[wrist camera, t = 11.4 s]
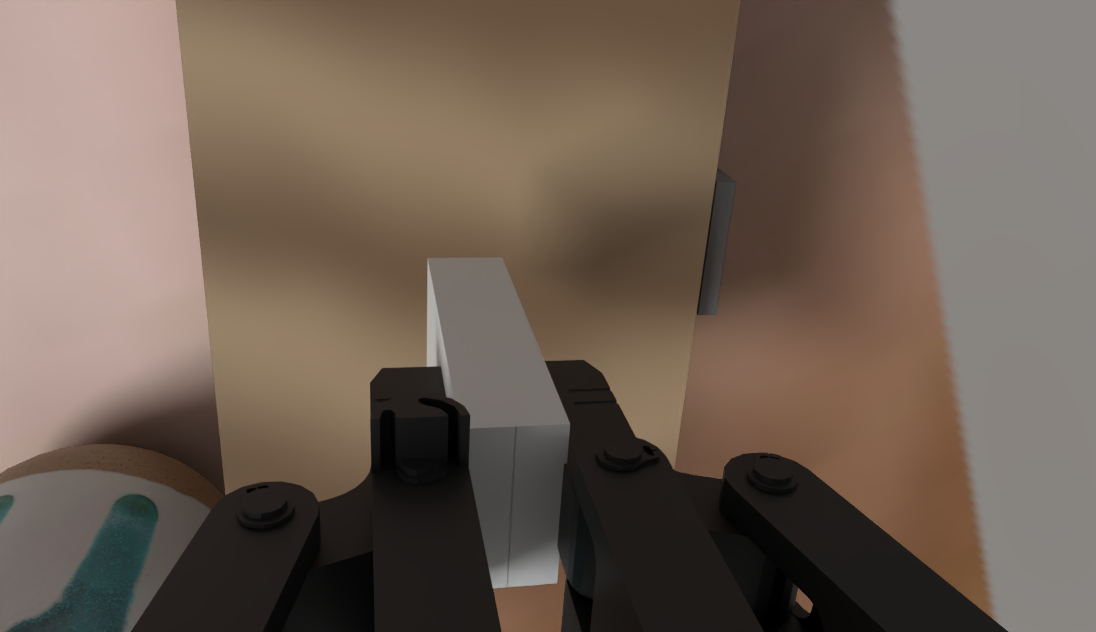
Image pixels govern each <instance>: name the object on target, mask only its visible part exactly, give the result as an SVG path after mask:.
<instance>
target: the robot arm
mask: <svg viewBox="0 0 1096 632" xmlns="http://www.w3.org/2000/svg"><path fill="white" fill-rule="evenodd" d="M370 433H371V468H370V472H369V474H368V475H367V477H366V478H365V480H364V481H363V482H361V483H360V484H359V485H358V486H357V487H356V488H354V489H352V490H350V491H348V492H346V493H345V494H342V495H339V496H336V497H333V498H331V499H327V500H323V501H319V502H318V500H317V498H316V497H315V495H314V493H313V492H311V491H309V490H308V489H306V488H304V487H303V486H301V485H297V484H293V483H288V482H283V481H277V482H260V483H256V484H251V485H248V486H244V487H241V488H239V489H237V490H235V491H233V492H231V493H229V494H227V495H225V496H224V497H223V498H222V499H221V500H220V501H219V502H218V503H217V504H216V505H215V506H214V507H213V508H212V509H211V511H210V513H209V514H208V516H207V517H206V519H205V520H204V522H203V523H202V525H201V526H200V528H199V529H198V531H197V532H196V534H195V535H194V537H193V538H192V540H191V541H190V543H189V544H188V546H187V547H186V549H185V550H184V552H183V553H182V555H181V556H180V558H179V559H178V561H177V562H176V564H175V565H174V567H173V568H172V570H171V571H170V573H169V575H168V576H167V578H166V579H165V581H164V582H163V584H162V585H161V587H160V588H159V590H158V591H157V593H156V594H155V596H154V597H153V599H152V600H151V602H150V603H149V605H148V606H147V608H146V609H145V611H144V612H143V614H142V615H141V617H140V618H139V620H138V621H137V623H136V624H135V626H134V627H133V629H132V630H131V632H501V627H500V622H499V617H498V612H497V607H496V602H495V597H494V592H493V588H504V587H516V586H529V585H541V584H554V583H557V578H558V566H559V554H560V557H561V560H562V564H563V567H564V570H565V573H566V580H565V592H564V603H563V615H562V626H561V632H1008V631H1007V630H1005V629H1004V628H1003V627H1002V626H1001V625H999V624H998V623H997V622H996V621H994V620H993V619H992V618H991V617H990V616H988V615H987V614H986V613H985V612H983V611H982V610H981V609H980V608H978V607H977V606H976V605H975V604H974V603H972V602H971V601H970V600H969V599H967V598H966V597H965V596H964V595H962V594H961V593H960V592H959V591H958V590H956V589H955V588H954V587H953V586H951V585H950V584H949V583H948V582H946V581H945V580H944V579H943V578H942V577H940V576H939V575H938V574H937V573H935V572H934V571H933V570H932V569H930V568H929V567H928V566H927V565H926V564H924V563H923V562H922V561H921V560H919V559H918V558H917V557H916V556H914V555H913V554H912V553H911V552H910V551H908V550H907V549H906V548H905V547H903V546H902V545H901V544H900V543H898V542H897V541H896V540H895V539H893V538H892V537H891V536H890V535H889V534H887V533H886V532H885V531H884V530H882V529H881V528H880V527H879V526H877V525H876V524H875V523H874V522H873V521H871V520H870V519H869V518H868V517H866V516H865V515H864V514H863V513H861V512H860V511H859V510H858V509H857V508H855V507H854V506H853V505H852V504H850V503H849V502H848V501H847V500H845V499H844V498H843V497H842V496H841V495H839V494H838V493H837V492H836V491H834V490H833V489H832V488H831V487H829V486H828V485H827V484H826V483H825V482H823V481H822V480H821V479H820V478H818V477H817V476H816V475H815V474H813V473H812V472H811V471H810V470H808V469H807V468H805V467H804V466H802V465H800V464H799V463H797V462H795V461H793V460H790V459H787V458H784V457H781V456H780V455H776V454H771V453H770V454H768V453H750V454H742V455H740V456H737V457H735V458H732V459H731V460H730V461H729V462H728V463H727V464H726V466H725V467H724V473H723V479H717V478H710V477H703V476H695V475H690V474H685V473H681V472H677V471H675V470H674V469H673V467H672V466H671V464H670V462H669V460H668V458H667V457H666V455H665V454H664V453H663V452H662V451H661V450H660V449H659V448H658V447H657V446H655V445H653V444H651V443H650V442H648V441H646V440H644V439H640V438H636V436H635V434H634V432H633V431H632V429H631V427H630V425H629V423H628V421H627V419H626V417H625V415H624V413H623V411H622V410H621V408H620V406H619V404H617V400H616V398H615V396H614V394H613V392H612V391H610V387H609V385H608V383H607V381H606V379H605V377H604V375H603V373H602V372H600V371H599V370H598V369H596V368H595V367H593V366H592V365H591V364H589V363H588V362H586V361H585V360H561V361H544V358H543V356H542V354H541V351H540V349H539V346H538V344H537V341H536V339H535V336H534V334H533V332H532V329H531V327H530V324H529V322H528V319H527V317H526V314H525V312H524V310H523V307H522V305H521V302H520V300H519V297H518V295H517V292H516V290H515V287H514V285H513V283H512V280H511V278H510V275H509V273H508V270H507V268H506V265H505V263H504V261H503V258H502V257H486V258H428V267H427V367H400V368H382V369H381V370H380V371H379V372H378V374H377V375H376V376H375V377H374V378H373V380H372V381H371V382H370ZM798 588H799V589H800V590H801V591H802V592H803V593H804V594H805V595H806V596H807V597H808V598H809V599H810V600H811V602H812V603H813V607H812V611H811V613H808V612H807V611H806V610H804V609H803V608H802V607H801V606H800V605H799V604H798V603H797V602H796V601H795V600H796V596H797V591H798Z"/></svg>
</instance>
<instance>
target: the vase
mask: <svg viewBox="0 0 1096 632" xmlns="http://www.w3.org/2000/svg"><path fill="white" fill-rule="evenodd" d="M223 497H224V495H223V494H222V493H221V492H220V491H219V490H218V489H217V488H216V487H215V486H214V485H213V484H212V483H211V482H210V481H209V480H208V479H206V478H205V477H204V476H202V475H201V474H200V473H198V472H197V471H195V470H194V469H193V468H191V467H189V466H187V465H186V464H184V463H182V462H180V461H178V460H176V459H174V458H172V457H169V456H166V455H164V454H161V453H158V452H156V451H152V450H148V449H144V448H139V447H135V446H128V445H118V444H88V445H81V446H74V447H68V448H62V449H58V450H54V451H51V452H47V453H44V454H40V455H38V456H35V457H33V458H31V459H28V460H26V461H24V462H22V463H19V464H17V465H15V466H13V467H11V468H8V469H7V470H5V471H4V472H2V473H1V474H0V632H131V630H132V629H133V627H134V626H135V624H136V623H137V621H138V620H139V618H140V617H141V615H142V614H143V612H144V611H145V609H146V608H147V606H148V605H149V603H150V602H151V600H152V599H153V597H154V596H155V594H156V593H157V591H158V590H159V588H160V587H161V585H162V584H163V582H164V581H165V579H166V578H167V576H168V575H169V573H170V571H171V570H172V568H173V567H174V565H175V564H176V562H177V561H178V559H179V558H180V556H181V555H182V553H183V552H184V550H185V549H186V547H187V546H188V544H189V543H190V541H191V540H192V538H193V537H194V535H195V534H196V532H197V531H198V529H199V528H200V526H201V525H202V523H203V522H204V520H205V519H206V517H207V516H208V514H209V513H210V511H211V509H212V508H213V507H214V506H215V505H216V504H217V503H218V502H219V501H220V500H221V499H222V498H223Z"/></svg>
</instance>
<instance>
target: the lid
mask: <svg viewBox="0 0 1096 632" xmlns="http://www.w3.org/2000/svg"><path fill="white" fill-rule="evenodd" d="M740 4H741V0H176V9H177V19H178V29H179V39H180V49H181V59H182V69H183V79H184V88H185V98H186V108H187V118H188V128H189V138H190V148H191V158H192V168H193V178H194V188H195V198H196V208H197V218H198V227H199V237H200V247H201V257H202V267H203V277H204V287H205V297H206V307H207V317H208V327H209V337H210V347H211V357H212V366H213V376H214V386H215V396H216V406H217V416H218V426H219V436H220V446H221V456H222V466H223V476H224V486H225V495H227V494H229V493H231V492H233V491H235V490H237V489H239V488H241V487H244V486H248V485H251V484H256V483H260V482H277V481H283V482H288V483H293V484H297V485H301V486H303V487H304V488H306V489H308V490H309V491H311V492H313V493H314V495H315V497H316V498H317V500H318V502H319V501H323V500H327V499H331V498H333V497H336V496H339V495H342V494H345V493H346V492H348V491H350V490H352V489H354V488H356V487H357V486H358V485H359V484H360V483H361V482H363V481H364V480H365V478H366V477H367V475H368V474H369V472H370V468H371V433H370V382H371V381H372V380H373V378H374V377H375V376H376V375H377V374H378V372H379V371H380V370H381V369H382V368H400V367H427V267H428V258H486V257H502V258H503V261H504V263H505V265H506V268H507V270H508V273H509V275H510V278H511V280H512V283H513V285H514V287H515V290H516V292H517V295H518V297H519V300H520V302H521V305H522V307H523V310H524V312H525V314H526V317H527V319H528V322H529V324H530V327H531V329H532V332H533V334H534V336H535V339H536V341H537V344H538V346H539V349H540V351H541V354H542V356H543V358H544V361H561V360H585V361H586V362H588V363H589V364H591V365H592V366H593V367H595V368H596V369H598V370H599V371H600V372H602V373H603V375H604V377H605V379H606V381H607V383H608V385H609V387H610V391H612V392H613V394H614V396H615V398H616V400H617V404H619V406H620V408H621V410H622V411H623V413H624V415H625V417H626V419H627V421H628V423H629V425H630V427H631V429H632V431H633V432H634V434H635V436H636V438H640V439H644V440H646V441H648V442H650V443H651V444H653V445H655V446H657V447H658V448H659V449H660V450H661V451H662V452H663V453H664V454H665V455H666V457H667V458H668V460H669V462H670V464H671V466H672V467H673V469H674V468H675V461H676V454H677V447H678V440H679V433H680V426H681V419H682V412H683V405H684V398H685V391H686V383H687V376H688V369H689V362H690V355H691V348H692V341H693V334H694V327H695V320H696V313H697V314H698V315H716V311H717V304H718V298H719V291H720V285H721V278H722V272H723V265H724V258H725V252H726V245H727V239H728V232H729V226H730V219H731V212H732V206H733V199H734V193H735V186H736V181H734V180H733V179H731V178H730V177H729V176H727V175H726V174H725V173H723V172H722V171H720V170H719V169H718V168H717V166H718V159H719V152H720V145H721V138H722V131H723V124H724V117H725V110H726V103H727V96H728V89H729V82H730V75H731V68H732V61H733V54H734V47H735V40H736V32H737V25H738V18H739V11H740Z"/></svg>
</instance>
